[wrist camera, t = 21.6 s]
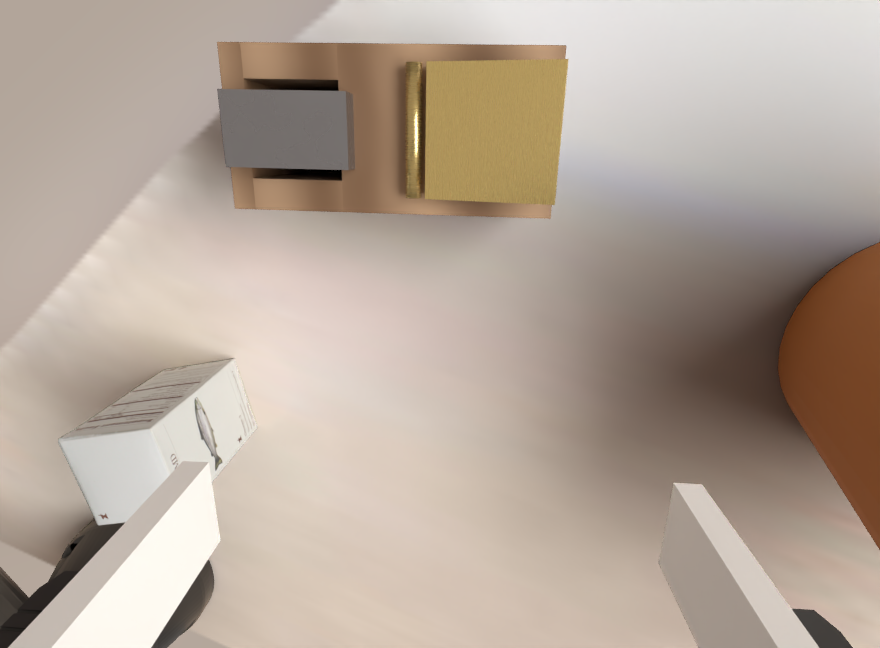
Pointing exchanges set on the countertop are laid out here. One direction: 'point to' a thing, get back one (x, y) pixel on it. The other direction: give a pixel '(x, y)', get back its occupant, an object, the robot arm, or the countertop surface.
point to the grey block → (287, 129)
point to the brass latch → (486, 130)
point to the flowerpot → (840, 377)
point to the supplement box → (158, 436)
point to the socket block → (358, 123)
